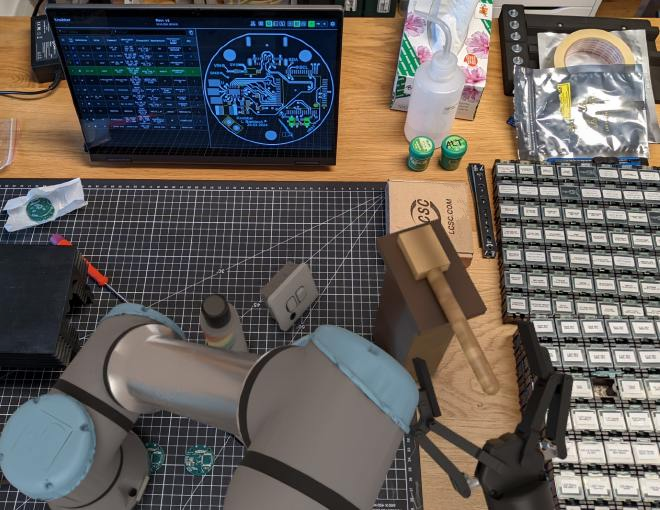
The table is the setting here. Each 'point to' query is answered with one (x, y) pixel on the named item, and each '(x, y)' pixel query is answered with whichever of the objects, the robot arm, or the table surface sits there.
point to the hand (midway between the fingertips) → (472, 340)
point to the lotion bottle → (221, 323)
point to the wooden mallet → (446, 297)
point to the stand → (419, 304)
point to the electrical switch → (289, 293)
